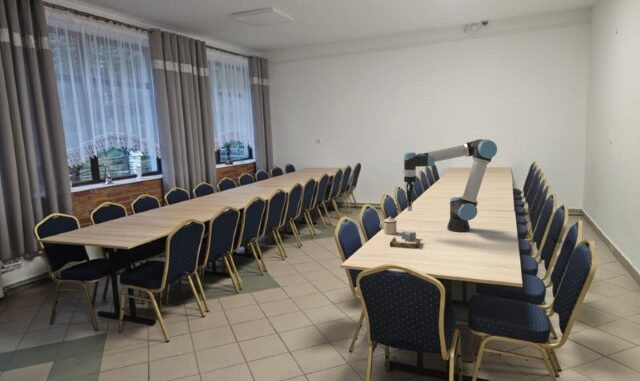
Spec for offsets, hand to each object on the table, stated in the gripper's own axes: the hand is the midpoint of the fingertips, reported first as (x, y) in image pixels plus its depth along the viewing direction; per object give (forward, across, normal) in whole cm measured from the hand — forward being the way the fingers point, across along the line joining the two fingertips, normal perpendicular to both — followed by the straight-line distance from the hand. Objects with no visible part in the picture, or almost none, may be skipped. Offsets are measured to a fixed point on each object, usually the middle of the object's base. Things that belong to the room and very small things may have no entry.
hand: (409, 210), depth 269 cm
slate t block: (+18, +9, 0) cm, 20 cm away
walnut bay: (+18, +21, 0) cm, 27 cm away
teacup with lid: (+18, -5, -16) cm, 24 cm away
